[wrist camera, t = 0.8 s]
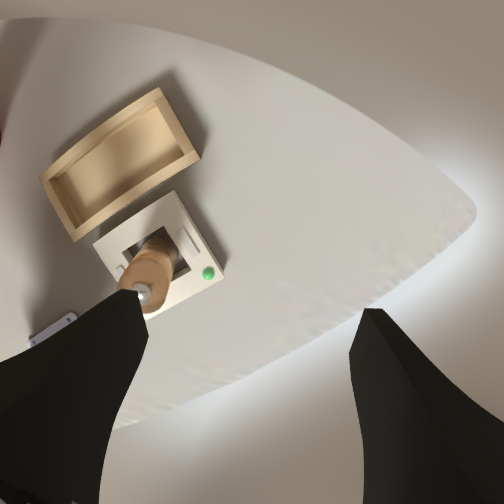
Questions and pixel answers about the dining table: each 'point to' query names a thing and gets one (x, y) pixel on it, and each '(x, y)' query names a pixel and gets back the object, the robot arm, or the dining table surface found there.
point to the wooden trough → (118, 163)
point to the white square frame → (183, 235)
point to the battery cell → (151, 273)
